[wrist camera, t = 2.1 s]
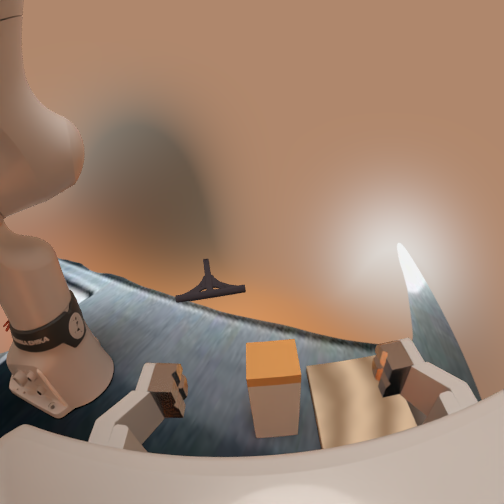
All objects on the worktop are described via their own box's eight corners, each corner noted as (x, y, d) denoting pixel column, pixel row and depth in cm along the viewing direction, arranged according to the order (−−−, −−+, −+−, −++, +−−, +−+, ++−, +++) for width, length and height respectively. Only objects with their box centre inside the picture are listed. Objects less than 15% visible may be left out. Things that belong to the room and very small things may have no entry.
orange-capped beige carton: (256, 438, 30) (246, 379, 25) (255, 405, 35) (246, 341, 30) (297, 434, 30) (301, 374, 25) (293, 402, 35) (294, 337, 30)
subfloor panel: (324, 469, 25) (326, 465, 25) (306, 371, 40) (306, 365, 39) (451, 432, 25) (455, 427, 24) (410, 352, 39) (412, 346, 39)
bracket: (235, 262, 74) (234, 252, 73) (246, 293, 61) (244, 282, 60) (178, 271, 72) (176, 261, 71) (177, 305, 59) (174, 294, 58)
